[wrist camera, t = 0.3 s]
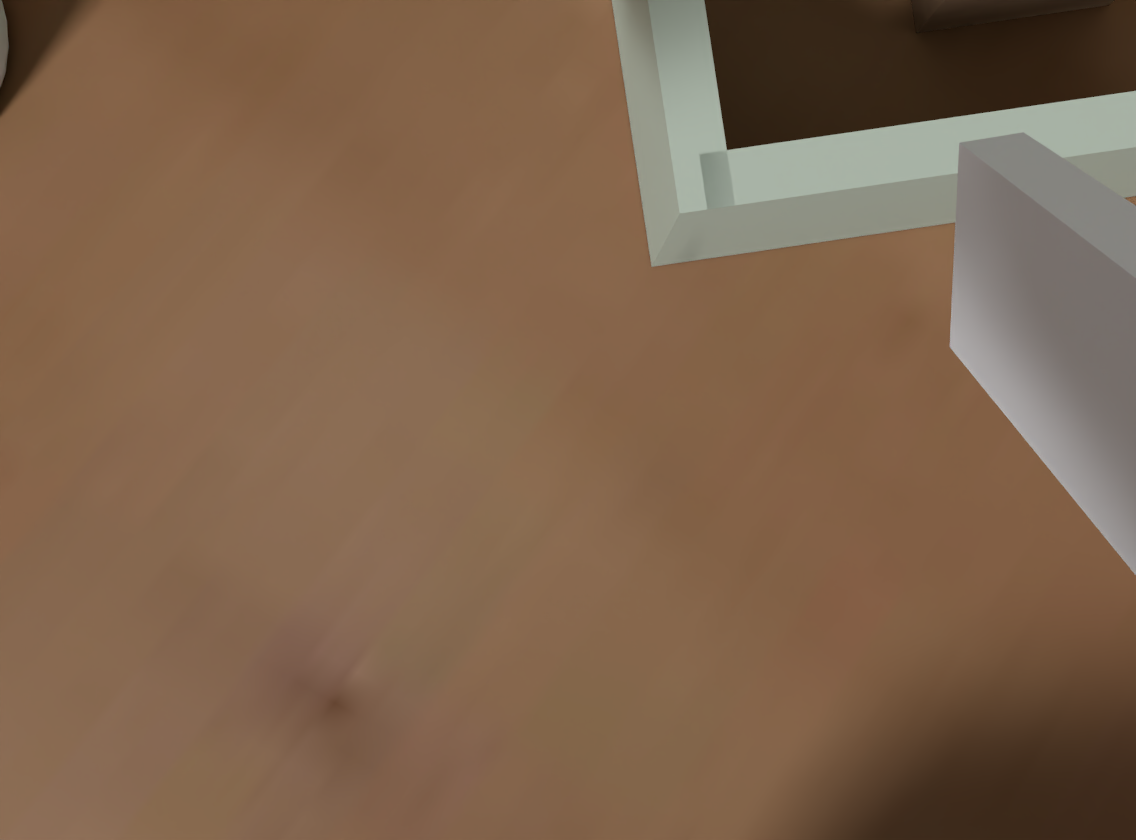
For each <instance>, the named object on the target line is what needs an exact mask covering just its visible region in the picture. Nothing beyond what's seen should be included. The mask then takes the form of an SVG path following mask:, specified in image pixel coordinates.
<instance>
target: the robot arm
mask: <svg viewBox="0 0 1136 840" xmlns="http://www.w3.org/2000/svg"><path fill="white" fill-rule="evenodd" d="M950 348H951V349H952V350H953V351H954V353H955V354H956V355H957V356H958V358H959V359H960V360H961V361H962V363H963V364H964V365H965V366H966V367H967V369H968V370H969V371H970V372H971V374H972V375H973V376H974V377H975V378H976V380H977V381H978V382H979V383H980V385H981V386H982V387H983V388H984V390H985V391H986V392H987V393H988V394H989V396H990V397H991V398H992V399H993V401H994V402H995V403H996V404H997V405H998V407H999V408H1000V409H1001V410H1002V412H1003V413H1004V414H1005V415H1006V417H1007V418H1008V419H1009V420H1010V421H1011V423H1012V424H1013V425H1014V426H1015V428H1016V429H1017V430H1018V431H1019V432H1020V434H1021V435H1022V436H1023V437H1024V439H1025V440H1026V441H1027V442H1028V444H1029V445H1030V446H1031V447H1032V448H1033V450H1034V451H1035V452H1036V453H1037V455H1038V456H1039V457H1040V458H1041V459H1042V461H1043V462H1044V463H1045V464H1046V466H1047V467H1048V468H1049V469H1050V471H1051V472H1052V473H1053V474H1054V475H1055V477H1056V478H1057V479H1058V480H1059V482H1060V483H1061V484H1062V485H1063V487H1064V488H1065V489H1066V490H1067V491H1068V493H1069V494H1070V495H1071V496H1072V498H1073V499H1074V500H1075V501H1076V502H1077V504H1078V505H1079V506H1080V507H1081V509H1082V510H1083V511H1084V512H1085V514H1086V515H1087V516H1088V517H1089V518H1090V520H1091V521H1092V522H1093V523H1094V525H1095V526H1096V527H1097V528H1098V529H1099V531H1100V532H1101V533H1102V534H1103V536H1104V537H1105V538H1106V539H1107V541H1108V542H1109V543H1110V544H1111V545H1112V547H1113V548H1114V549H1115V550H1116V552H1117V553H1118V554H1119V555H1120V556H1121V558H1122V559H1123V560H1124V561H1125V563H1126V564H1127V565H1128V566H1129V568H1130V569H1131V570H1132V571H1133V572H1134V574H1135V575H1136V206H1135V205H1134V204H1132V203H1131V202H1129V201H1128V200H1126V199H1125V198H1123V197H1122V196H1120V195H1119V194H1117V193H1115V192H1114V191H1112V190H1111V189H1109V188H1108V187H1106V186H1105V185H1103V184H1102V183H1100V182H1099V181H1097V180H1096V179H1094V178H1093V177H1091V176H1089V175H1088V174H1086V173H1085V172H1083V171H1082V170H1080V169H1079V168H1077V167H1076V166H1074V165H1073V164H1071V163H1070V162H1068V161H1067V160H1065V159H1064V158H1062V157H1060V156H1059V155H1057V154H1056V153H1054V152H1053V151H1051V150H1050V149H1048V148H1047V147H1045V146H1044V145H1042V144H1041V143H1039V142H1038V141H1036V140H1035V139H1033V138H1031V137H1030V136H1028V135H1027V134H1025V133H1024V132H1022V133H1016V134H1010V135H1004V136H997V137H991V138H985V139H979V140H973V141H967V142H961V143H959V157H958V179H957V201H956V222H955V244H954V266H953V288H952V309H951V331H950Z"/></svg>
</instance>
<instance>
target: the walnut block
mask: <svg viewBox="0 0 1136 840" xmlns="http://www.w3.org/2000/svg"><path fill="white" fill-rule="evenodd" d="M1113 1H1115V0H911V3H912V10H913V16H914V23H915V29H916V33H921V32H928V31H934V30H941V29H948V28H955V27H962V26H969V25H976V24H983V23H990V22H997V21H1004V20H1011V19H1018V18H1024V17H1031V16H1038V15H1045V14H1052V13H1059V12H1066V11H1073V10H1080V9H1087V8H1094V7H1101V6H1108V5H1109V4H1111V3H1112V2H1113Z"/></svg>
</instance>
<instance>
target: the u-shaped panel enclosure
mask: <svg viewBox="0 0 1136 840" xmlns="http://www.w3.org/2000/svg"><path fill="white" fill-rule="evenodd" d="M612 5H613V11H614V18H615V25H616V32H617V38H618V45H619V52H620V58H621V65H622V72H623V78H624V85H625V92H626V99H627V105H628V112H629V119H630V125H631V132H632V139H633V145H634V152H635V159H636V166H637V172H638V179H639V186H640V192H641V199H642V206H643V212H644V219H645V226H646V232H647V239H648V246H649V253H650V259H651V266H652V267H653V266H660V265H667V264H673V263H680V262H687V261H694V260H701V259H708V258H715V257H721V256H728V255H735V254H742V253H749V252H756V251H762V250H769V249H776V248H783V247H790V246H797V245H803V244H810V243H817V242H824V241H831V240H838V239H845V238H851V237H858V236H865V235H872V234H879V233H886V232H892V231H899V230H906V229H913V228H920V227H927V226H933V225H940V224H947V223H954V222H956V201H957V179H958V157H959V143H961V142H967V141H973V140H979V139H985V138H991V137H997V136H1004V135H1010V134H1016V133H1022V132H1024V133H1025V134H1027V135H1028V136H1030V137H1031V138H1033V139H1035V140H1036V141H1038V142H1039V143H1041V144H1042V145H1044V146H1045V147H1047V148H1048V149H1050V150H1051V151H1053V152H1054V153H1056V154H1057V155H1059V156H1060V157H1062V158H1064V159H1065V160H1067V161H1068V162H1070V163H1071V164H1073V165H1074V166H1076V167H1077V168H1079V169H1080V170H1082V171H1083V172H1085V173H1086V174H1088V175H1089V176H1091V177H1093V178H1094V179H1096V180H1097V181H1099V182H1100V183H1102V184H1103V185H1105V186H1106V187H1108V188H1109V189H1111V190H1112V191H1114V192H1115V193H1117V194H1119V195H1120V196H1122V197H1123V198H1125V197H1132V196H1136V91H1131V92H1124V93H1117V94H1110V95H1103V96H1096V97H1090V98H1083V99H1076V100H1069V101H1062V102H1055V103H1048V104H1041V105H1034V106H1028V107H1021V108H1014V109H1007V110H1000V111H993V112H986V113H979V114H972V115H966V116H959V117H952V118H945V119H938V120H931V121H924V122H917V123H911V124H904V125H897V126H890V127H883V128H876V129H869V130H862V131H855V132H849V133H842V134H835V135H828V136H821V137H814V138H807V139H800V140H793V141H787V142H780V143H773V144H766V145H759V146H752V147H745V148H738V149H731V150H727V147H726V141H725V134H724V128H723V121H722V114H721V108H720V101H719V94H718V88H717V81H716V75H715V68H714V61H713V55H712V48H711V41H710V35H709V28H708V21H707V15H706V8H705V2H704V0H612Z"/></svg>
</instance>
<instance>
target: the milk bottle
mask: <svg viewBox="0 0 1136 840" xmlns="http://www.w3.org/2000/svg"><path fill="white" fill-rule="evenodd" d="M8 50H9V42H8V32H7V19H6V16H5V12H4V7H3V3H2V0H0V88H1V85H2V82H3V79H4V76H5V74H6V66H7V57H8Z"/></svg>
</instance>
